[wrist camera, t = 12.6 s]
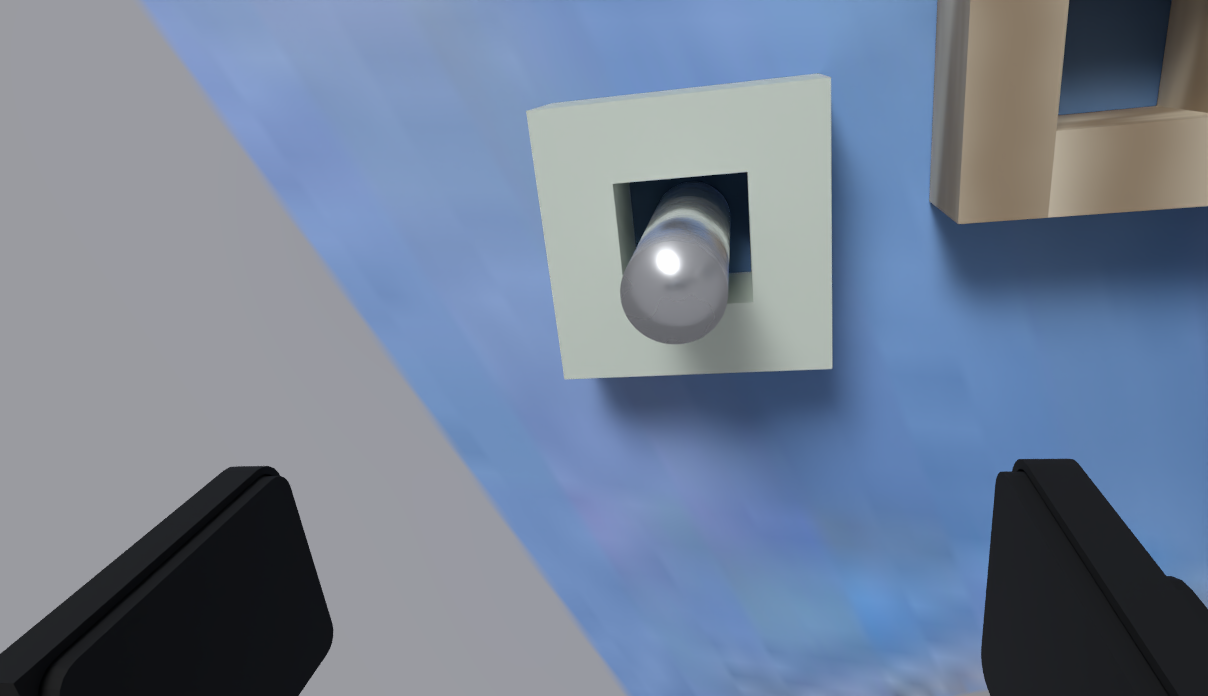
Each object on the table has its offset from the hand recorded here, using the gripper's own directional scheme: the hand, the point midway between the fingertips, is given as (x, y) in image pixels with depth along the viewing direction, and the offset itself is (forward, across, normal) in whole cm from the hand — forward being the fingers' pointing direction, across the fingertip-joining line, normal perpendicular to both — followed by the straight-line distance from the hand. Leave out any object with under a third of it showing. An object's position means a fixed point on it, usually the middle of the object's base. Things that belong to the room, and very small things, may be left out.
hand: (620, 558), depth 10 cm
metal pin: (+22, 0, 0) cm, 22 cm away
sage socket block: (+22, +1, 0) cm, 22 cm away
